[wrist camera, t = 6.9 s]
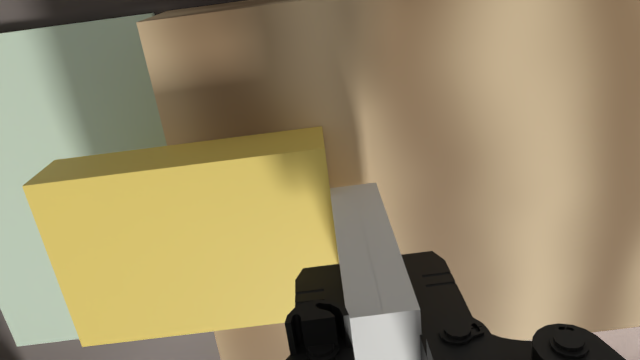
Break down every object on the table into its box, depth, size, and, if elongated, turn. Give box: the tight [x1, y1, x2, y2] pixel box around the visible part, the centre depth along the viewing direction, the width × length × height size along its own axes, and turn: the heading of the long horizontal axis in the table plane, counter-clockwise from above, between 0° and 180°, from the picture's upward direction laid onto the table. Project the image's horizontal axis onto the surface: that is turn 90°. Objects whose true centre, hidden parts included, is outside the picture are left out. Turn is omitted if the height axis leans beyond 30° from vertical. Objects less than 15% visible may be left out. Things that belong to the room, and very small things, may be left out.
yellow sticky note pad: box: [22, 126, 339, 347], centre depth 18 cm, size 9×6×2 cm, turn 97°
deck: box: [136, 0, 640, 360], centre depth 20 cm, size 18×14×4 cm
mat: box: [0, 13, 167, 346], centre depth 22 cm, size 10×14×1 cm
